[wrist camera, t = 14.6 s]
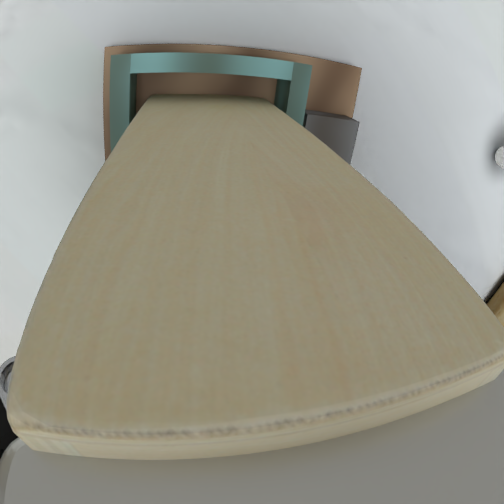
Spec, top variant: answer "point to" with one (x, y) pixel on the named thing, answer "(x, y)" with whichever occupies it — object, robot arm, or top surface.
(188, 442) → the beige long rectangular block
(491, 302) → the bread roll
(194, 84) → the board
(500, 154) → the lightbulb
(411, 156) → the top surface
